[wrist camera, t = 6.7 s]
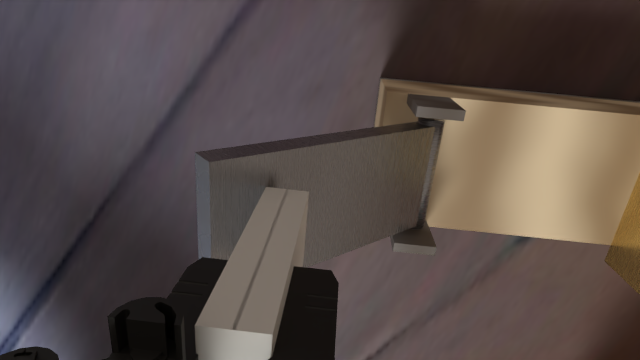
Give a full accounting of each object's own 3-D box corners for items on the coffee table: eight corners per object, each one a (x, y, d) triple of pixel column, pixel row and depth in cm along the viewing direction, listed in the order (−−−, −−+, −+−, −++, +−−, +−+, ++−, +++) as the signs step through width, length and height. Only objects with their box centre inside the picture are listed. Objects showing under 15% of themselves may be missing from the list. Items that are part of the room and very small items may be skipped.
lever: (410, 216, 22) (198, 291, 15) (429, 114, 20) (193, 145, 13) (429, 225, 21) (213, 309, 14) (450, 120, 19) (210, 156, 12)
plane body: (365, 185, 27) (371, 248, 20) (380, 77, 25) (393, 103, 17) (739, 222, 26) (891, 303, 19) (794, 115, 24) (996, 160, 16)
